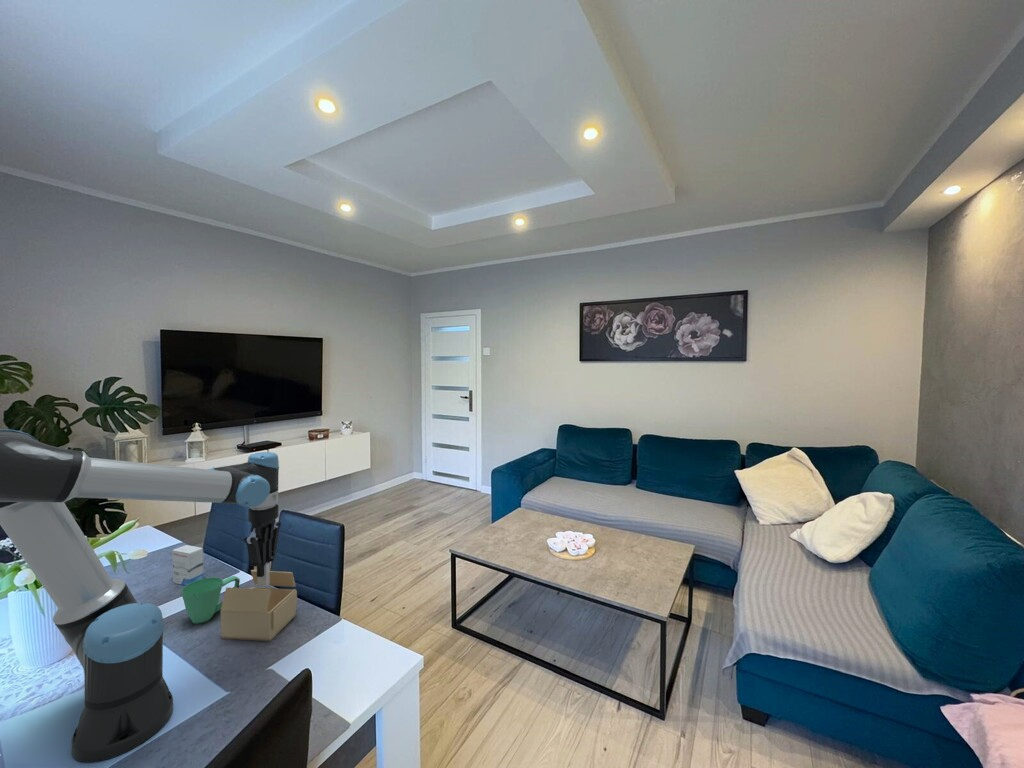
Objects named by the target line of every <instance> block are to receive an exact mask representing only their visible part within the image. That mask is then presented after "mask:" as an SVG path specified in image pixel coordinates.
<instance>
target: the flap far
mask: <svg viewBox="0 0 1024 768" xmlns="http://www.w3.org/2000/svg"><path fill="white" fill-rule="evenodd" d="M250 573H251V576H252V579H253V583H254V585H256V586H257V569H251V570H250ZM268 586H273V587H293V588H294V587H296V586H297V585H296V582H295V577H294V573H293V572H292V571H279V570H278V571H277V570H270V584H269V585H268Z"/></svg>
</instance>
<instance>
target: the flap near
mask: <svg viewBox="0 0 1024 768" xmlns="http://www.w3.org/2000/svg"><path fill="white" fill-rule="evenodd" d="M270 594H271V590H266V589H250V588H249V589H248V588H245V587H244V588H242V587H239V588H233V587H225V591H224V596H223V599H222V601H223V603H222V607H221V609H220V611H221V610H233V611H250V612H267V608H268V603H269V599H270Z"/></svg>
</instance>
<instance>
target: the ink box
mask: <svg viewBox="0 0 1024 768" xmlns="http://www.w3.org/2000/svg"><path fill="white" fill-rule="evenodd" d="M171 554H172V556H171V557H172V579H173V580H172V581H173V582H172V583H174V584H178V585H182V586H184V587H185V586H186V585H188V584H190V583H192V582H194V581H197V580H200V579H204V578H205V576H204V575H205V574H204V548H203V547H199V546H194V545H188V544H185V545H182V546H180V547H177V548H174V549H172V553H171Z"/></svg>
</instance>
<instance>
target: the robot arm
mask: <svg viewBox="0 0 1024 768" xmlns="http://www.w3.org/2000/svg"><path fill="white" fill-rule="evenodd" d="M279 464H280V461H279V456H278V454H277V453H276V452H271V451H263V452H262V451H259V452H255V453H251V454H250V455H249V456H248V458H247V462H243V463H237V464H231V465H224V466H219V467H212V468H206V469H205V468H198V467H197V468H196V467H186V466H176V465H168V464H167V465H166V464H159V463H157V464H156V463H147V462H137V461H128V460H119V459H107V458H97V457H90V456H89V455H88V454H87V453H86V452H85V451H84V450H76V449H75V450H74V449H66V448H62V447H58V446H53V445H49V444H47V443H43V442H41V441H39V440H38V439H37V438H35V436H33V435H31V434H29V433H27V432H24V431H20V430H15V429H0V527H1V528H2V530H3V531H4V532H5V534H6V535H7V537H8V538H9V540H10V541H11V543H12V544H13V546H14V547H15V548H16V550H17V551H18V553H19V554H20V556H21V557H22V558H23V560H24V561H25V563H26V565H27V566H28V567H29V569H30V570H31V572H32V573H33V574H34V576H35V577H36V579H37V580H38V582H39V583H40V585H41V586H42V588H43V589H44V590H45V591H46V593H47V595H48V596H49V597H50V599H51V600H52V602H53V603H54V604H55V606H56V608H57V610H56V611H55V613H54V615H53V616H52V622H53V623H54V625H55V627H56V628H57V629H58V630H59V632H60V633H61V634H62V636H63V638H64V640H65V642H66V644H68V645H69V646H70V648H71V649H72V651H73V652H74V654H75V656H76V658H77V660H78V661H79V663H80V666H81V667H82V669H83V674H84V675H83V676H84V706H83V707H84V708H83V709H82V712H81V714H80V717H79V720H78V723H77V726H76V728H75V730H74V731H73V732H74V733H73V734H72V737H71V748H70V749H71V750H70V751H71V756H72V758H74V759H75V760H76V761H79V762H81V763H83V762H84V763H92V762H93V763H94V762H100V761H101V762H102V761H103V760H104V761H105V760H108V759H112V758H115V757H117V756H119V755H122V754H125V753H126V752H128V751H132V750H133V749H134V748H137V747H138V746H140V745H141V744H143V743H144V742H146V741H147V740H149V739H150V738H152V737H153V736H154V735H156V733H158V732H159V731H160V730H161V729H162V728H163V727H164V726H165V725H166V724H167V722H168V721H169V720H170V718H171V716H172V715H173V711H174V697H173V694H172V692H171V691H170V688H169V686H168V684H167V682H166V680H165V678H164V675H163V670H164V669H163V667H164V666H163V663H164V662H163V658H164V657H163V656H164V653H163V652H164V650H163V649H164V645H163V644H164V639H163V638H164V636H163V633H164V632H163V631H164V627H165V624H164V622H165V621H164V618H163V612H162V610H161V608H159V606H157V605H155V604H153V603H149V602H146V603H142V602H138V601H137V600H136V598H135V596H134V595H133V593H132V591H131V589H130V588H129V587H128V585H127V584H126V582H125V580H123V579H122V578H121V579H120V578H111V576H110V574H109V573H108V571H107V569H106V567H104V565H103V563H102V562H101V560H100V558H99V557H98V555H97V553H96V552H95V549H94V548H93V547H92V545H91V543H90V542H89V541H88V539H87V537H86V536H85V534H84V532H83V530H82V529H81V527H80V526H79V524H78V523H77V521H76V520H75V518H74V516H73V514H72V513H71V511H70V510H69V508H68V506H67V505H66V502H68V501H70V500H71V499H74V498H84V499H85V498H86V499H87V498H88V499H106V500H107V499H109V500H110V499H111V500H131V501H133V500H134V501H136V500H139V501H158V502H159V501H161V502H162V501H163V502H164V501H165V502H184V503H185V502H186V503H187V502H190V503H213V504H233V505H239V506H241V507H246V508H248V511H247V517H248V518H247V520H248V522H249V523H251V529H250V534H249V536H245V537H244V538H243V542H244V543H245V545H246V549H247V553H248V559H249V562H250V566H251V567H256V570H257V585H256V586H257V587H259V588H268V586H270V585H269V584H270V571H271V563H273V562H274V561H275V558H273V557H275V556H276V553H277V547H278V545H277V544H278V540H279V539H278V538H279V533H280V528H281V525H282V522H280V521H276V519H277V518H279V504H278V503H279V470H280V465H279Z"/></svg>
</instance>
